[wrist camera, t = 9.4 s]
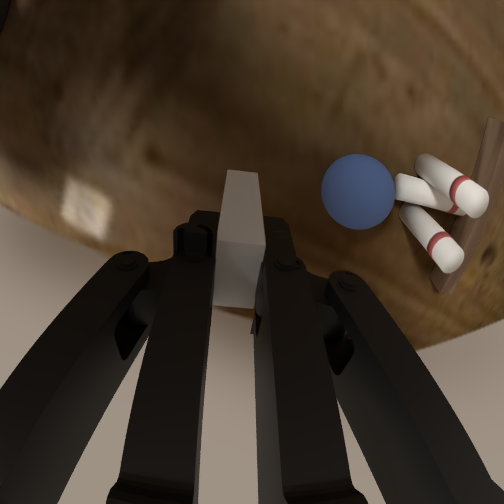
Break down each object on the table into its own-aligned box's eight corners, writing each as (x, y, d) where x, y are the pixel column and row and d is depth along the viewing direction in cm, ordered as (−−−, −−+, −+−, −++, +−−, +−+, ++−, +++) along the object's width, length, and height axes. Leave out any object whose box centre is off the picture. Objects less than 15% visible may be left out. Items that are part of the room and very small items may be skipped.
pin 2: (395, 220, 27) (435, 272, 20) (403, 198, 25) (448, 245, 18) (414, 224, 27) (456, 274, 20) (422, 202, 26) (469, 249, 18)
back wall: (429, 277, 31) (439, 293, 28) (488, 117, 20) (507, 124, 17) (440, 278, 31) (451, 293, 28) (499, 123, 20) (517, 131, 17)
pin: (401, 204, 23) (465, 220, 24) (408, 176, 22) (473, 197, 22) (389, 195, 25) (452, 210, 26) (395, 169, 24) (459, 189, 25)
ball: (391, 238, 23) (344, 203, 27) (418, 175, 20) (363, 145, 24) (348, 251, 20) (297, 209, 24) (378, 173, 17) (316, 140, 21)
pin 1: (411, 174, 24) (461, 215, 17) (418, 149, 23) (473, 183, 15) (430, 179, 24) (481, 221, 17) (437, 156, 23) (493, 192, 16)
